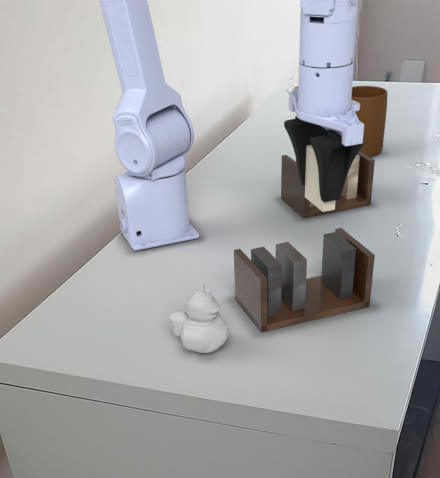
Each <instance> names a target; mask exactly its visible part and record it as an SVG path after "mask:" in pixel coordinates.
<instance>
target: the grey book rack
mask: <svg viewBox="0 0 440 478" xmlns="http://www.w3.org/2000/svg"><path fill="white" fill-rule="evenodd" d="M322 237H323V238H322V239H323V240H322V257H321V258H322V259H321V275H317V276H313V277H307V268H308V264H307V263H308V259H307V258H306V257H305V256H304V255H303V254H302V253H301V252H300V251H299V250H298V249H296V248H295V247H294V246H293V244H291V243H290V242H289V241H285V242H280V243H275V256H274V255H273V254H271V252H270V251H269V250H268V249H267V248H266V247H265V246H259V247H255V248H251V249H250V257H248V256H247V255H246V254H245V252H244V251H243V250H242V249H241V248H236V249H233V269H234V271H233V272H234V297H235V299H234V300H235V302H236V303H237V304H238V306H239V307H240V308H241V309H242V311H243V312H244V313H245V314H246V316H247V317H248V318H249V320H250V321H251V322H252V323H253V324H254V326H255V327H256V328H257V330H259V332H260V333H264V332H268V331H273V330H277V329H281V328H286V327H289V326H294V325H298V324H302V323H307V322H311V321H315V320H319V319H324V318H327V317H332V316H336V315H341V314H344V313H349V312H353V311H357V310H358V311H359V310H361V309H366V308H370V307H371V296H372V287H373V278H374V277H373V276H374V268H375V258H376V255H375V254H374V253H373V252H372V251H371V250H369V248H367V247H366V246H364V244H362V243H361V242H359V241H358V240H357V239H356V238H355V237H353V236H352V235H351V234H350V233H348V232H347V231H346V230H345V229H344V228H342V227H337V228H335V229H334V231H333V232H329V233H324V234H323V236H322Z"/></svg>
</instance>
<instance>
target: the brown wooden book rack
mask: <svg viewBox="0 0 440 478" xmlns="http://www.w3.org/2000/svg"><path fill="white" fill-rule="evenodd" d="M375 162H376V160H375V159H373V157H371V158H370V157H369V156H367V155H366V154H364V153H362V152H361V151H359V152H358V154H357V155H356V157H355V159H354V161H353V163H352V165H351V167H350V169H349V172H348V175H347V177H346V181H345V184H344V187H343V190H342V193H341V196H340V199H339V200H335V210H331V211H325V212H322V211H321V210H320V209H319V208H317V207H316V206H315V205H314V204H312V203H311V202H310V201H309V200H308V199H306V198H305V186H303V185H302V184H301V181H300V177H299V172H298V167H297V161H296V160H294V159H293V158H292V157H290V156H289V155H287V154H282V155H281V167H280V169H281V172H280V173H281V174H280V177H281V178H280V181H281V182H280V194H281V195H280V199H281V200H282V202H283V203H285V204H286V205H287V206H288V207H289V208H291V210H293V211H294V212H296V213H297V214H298V215H299V216H300V217H301V218H303V219H307V218H314V217H317V216H322V215H328V214H332V213H336V212H342V211H343V212H344V211H347V210H352V209H358V208H362V207H368V206H371V205H372V196H373V186H374V185H373V183H374V175H375V174H374V173H375Z"/></svg>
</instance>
